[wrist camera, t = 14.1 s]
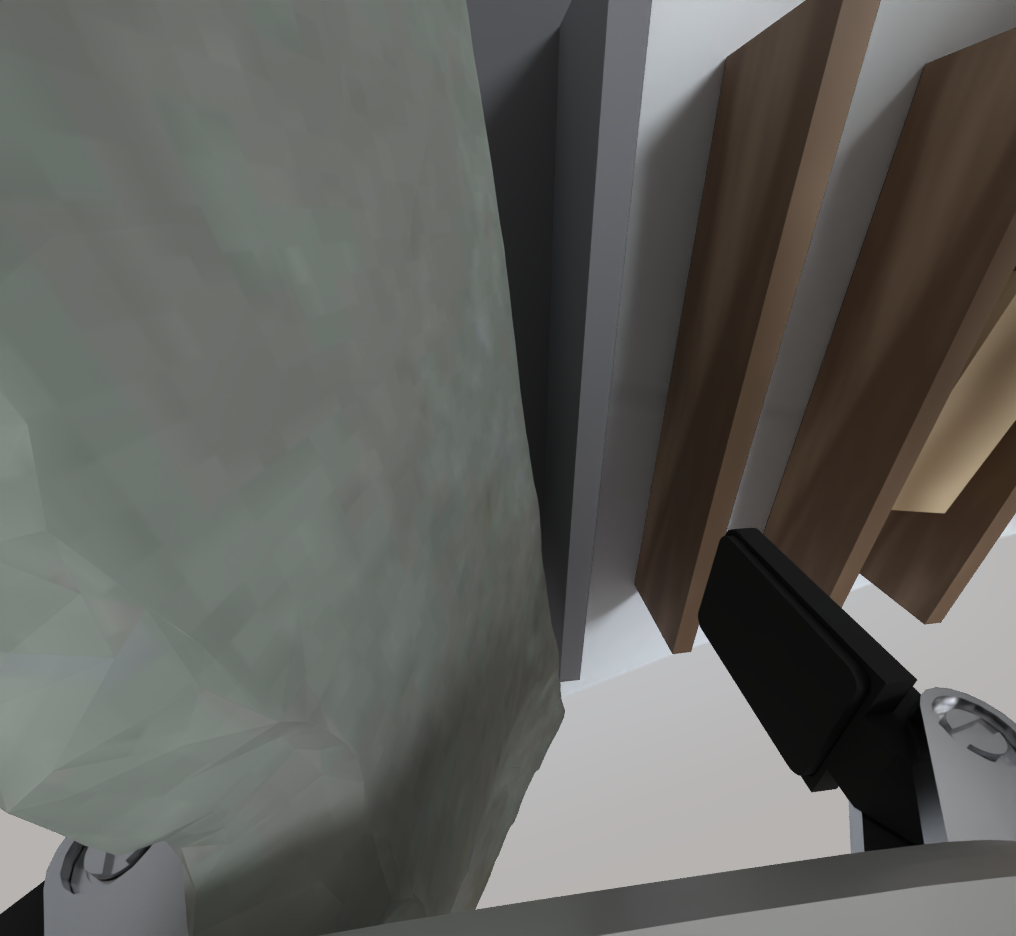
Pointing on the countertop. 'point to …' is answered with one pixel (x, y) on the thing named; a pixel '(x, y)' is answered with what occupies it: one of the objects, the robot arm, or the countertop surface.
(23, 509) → the rock
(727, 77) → the walnut rack
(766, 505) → the countertop surface
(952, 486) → the offcut
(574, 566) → the slab stand
